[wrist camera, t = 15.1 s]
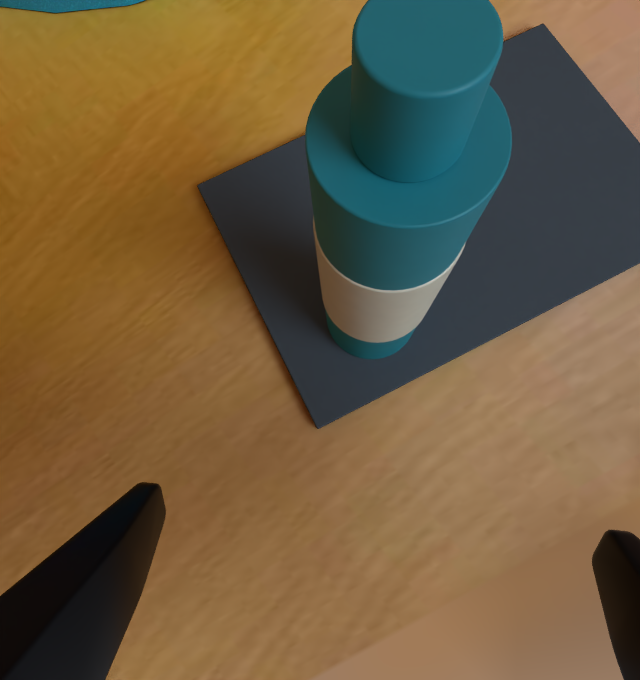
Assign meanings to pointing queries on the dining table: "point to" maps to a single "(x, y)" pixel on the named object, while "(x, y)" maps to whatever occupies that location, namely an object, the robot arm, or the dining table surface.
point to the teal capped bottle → (403, 163)
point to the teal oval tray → (64, 4)
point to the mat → (480, 248)
